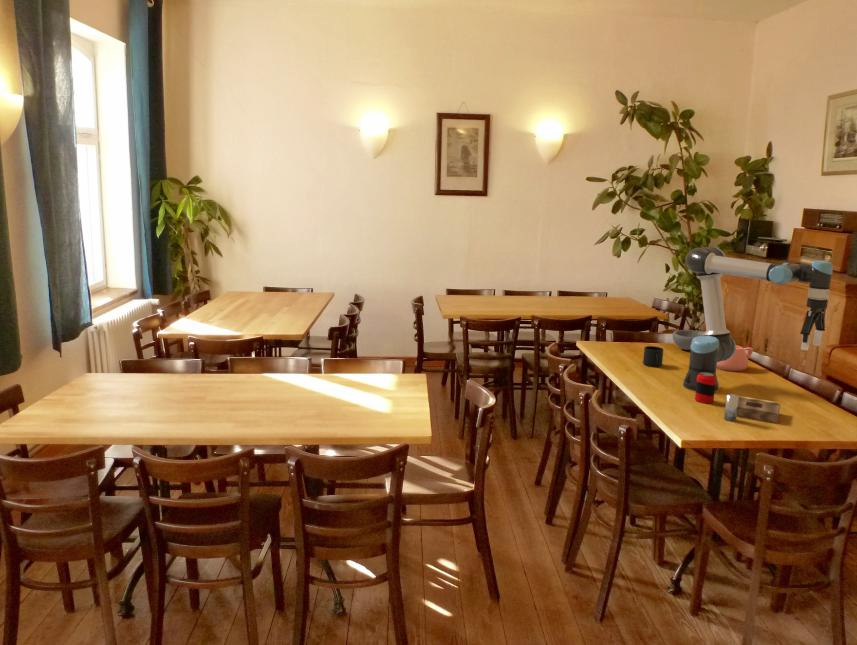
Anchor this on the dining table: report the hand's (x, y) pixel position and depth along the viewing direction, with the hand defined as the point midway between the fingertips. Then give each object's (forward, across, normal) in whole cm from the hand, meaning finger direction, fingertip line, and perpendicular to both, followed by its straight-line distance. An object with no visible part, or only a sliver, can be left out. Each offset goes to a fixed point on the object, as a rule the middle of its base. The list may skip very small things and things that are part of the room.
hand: (810, 347), depth 279 cm
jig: (+25, -32, +7) cm, 41 cm away
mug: (+26, +6, +74) cm, 79 cm away
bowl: (+26, +57, +80) cm, 102 cm away
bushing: (+25, -47, +10) cm, 54 cm away
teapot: (+26, +34, +48) cm, 64 cm away
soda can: (+25, -32, +28) cm, 49 cm away
